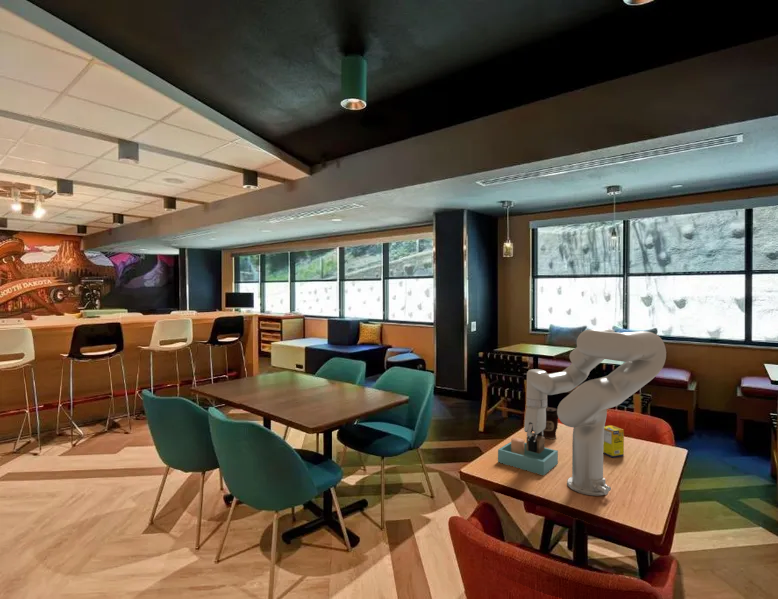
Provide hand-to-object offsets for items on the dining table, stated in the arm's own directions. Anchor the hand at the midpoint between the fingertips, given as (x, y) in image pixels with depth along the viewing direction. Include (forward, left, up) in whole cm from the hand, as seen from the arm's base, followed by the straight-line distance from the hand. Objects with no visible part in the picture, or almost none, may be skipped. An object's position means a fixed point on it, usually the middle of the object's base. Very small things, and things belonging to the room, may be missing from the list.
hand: (535, 448), depth 162 cm
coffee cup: (+24, -25, -7) cm, 35 cm away
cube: (0, 0, -1) cm, 1 cm away
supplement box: (-1, -36, -7) cm, 37 cm away
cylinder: (+6, +4, -5) cm, 9 cm away
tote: (+3, +2, -6) cm, 7 cm away
